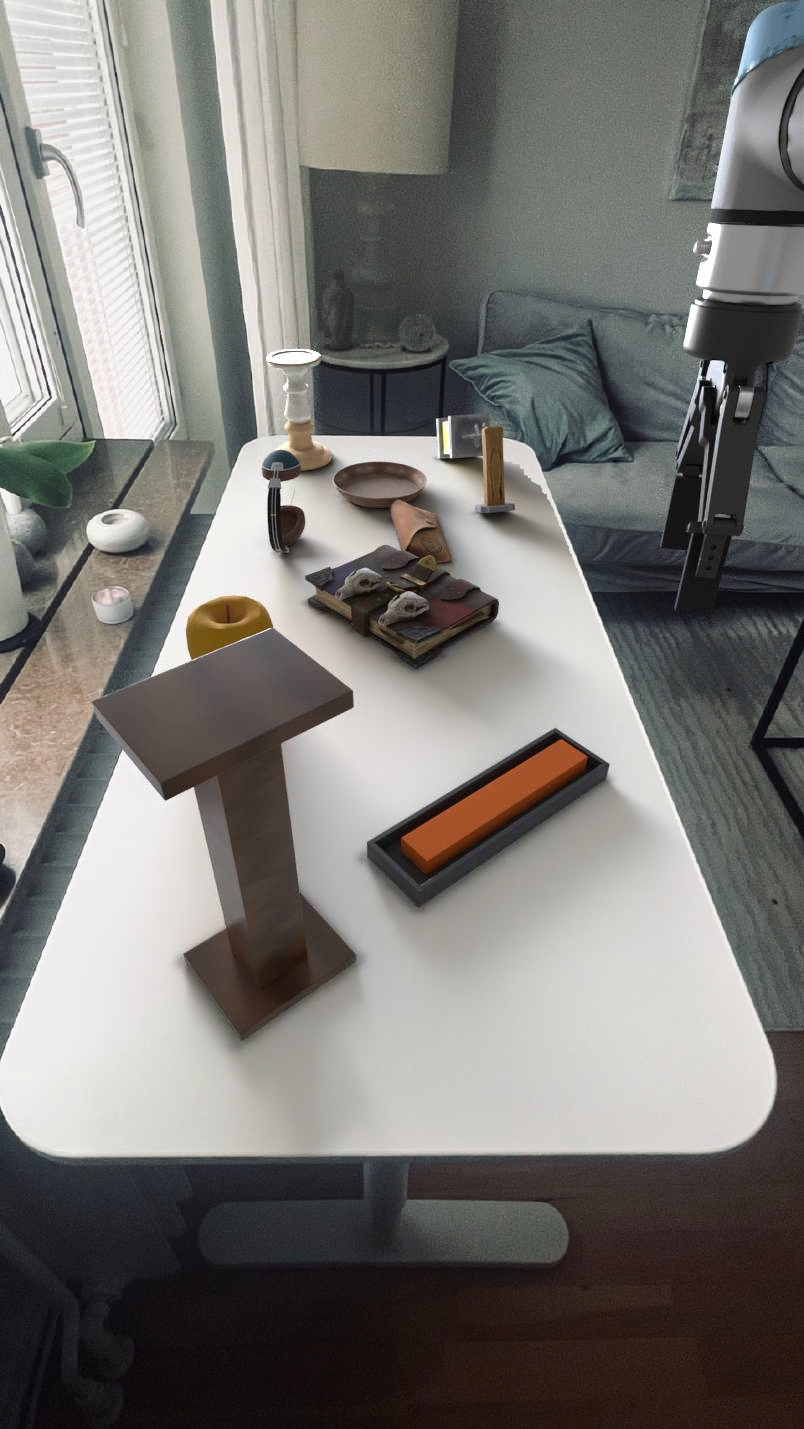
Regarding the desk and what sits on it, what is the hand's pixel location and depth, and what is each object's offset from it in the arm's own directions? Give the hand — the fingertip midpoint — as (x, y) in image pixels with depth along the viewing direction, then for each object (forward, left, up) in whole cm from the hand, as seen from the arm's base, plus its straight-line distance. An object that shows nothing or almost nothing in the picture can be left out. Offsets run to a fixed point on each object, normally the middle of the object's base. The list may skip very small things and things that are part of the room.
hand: (683, 577), depth 67 cm
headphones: (+60, +50, -29) cm, 83 cm away
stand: (-22, +34, -29) cm, 50 cm away
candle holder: (+95, +54, -29) cm, 113 cm away
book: (+38, +28, -29) cm, 56 cm away
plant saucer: (+80, +36, -29) cm, 93 cm away
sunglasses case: (+62, +27, -29) cm, 74 cm away
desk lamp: (+87, +18, -29) cm, 93 cm away
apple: (+17, +47, -29) cm, 58 cm away
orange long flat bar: (-1, +13, -29) cm, 32 cm away
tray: (-2, +14, -29) cm, 32 cm away
